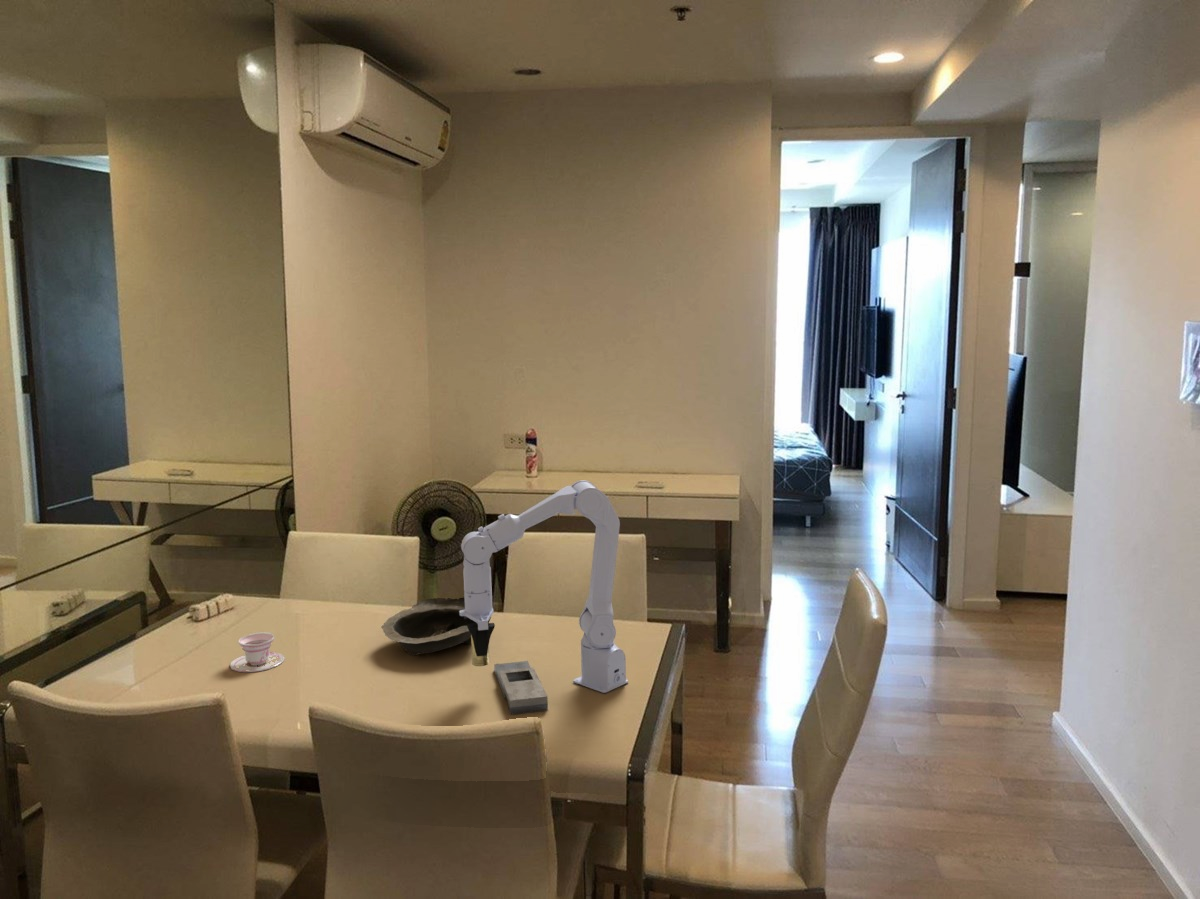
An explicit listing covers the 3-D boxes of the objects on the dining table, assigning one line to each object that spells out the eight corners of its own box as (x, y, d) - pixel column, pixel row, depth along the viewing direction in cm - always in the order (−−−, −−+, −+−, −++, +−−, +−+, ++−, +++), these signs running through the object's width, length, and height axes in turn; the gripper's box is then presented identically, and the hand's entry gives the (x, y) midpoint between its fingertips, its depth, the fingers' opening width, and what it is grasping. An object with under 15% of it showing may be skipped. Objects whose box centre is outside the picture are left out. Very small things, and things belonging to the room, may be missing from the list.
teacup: (267, 674, 209) (265, 648, 208) (219, 672, 211) (217, 646, 210) (294, 655, 221) (292, 630, 220) (248, 652, 223) (246, 628, 222)
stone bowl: (495, 628, 237) (494, 594, 234) (472, 673, 212) (471, 635, 210) (401, 625, 239) (399, 591, 237) (368, 669, 215) (365, 632, 213)
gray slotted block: (494, 670, 209) (494, 658, 209) (527, 667, 211) (527, 654, 210) (510, 714, 186) (510, 700, 186) (547, 710, 188) (547, 696, 187)
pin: (492, 662, 196) (491, 626, 194) (479, 667, 193) (478, 630, 192) (481, 658, 198) (480, 622, 197) (468, 663, 195) (467, 627, 194)
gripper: (455, 581, 199) (457, 642, 201) (462, 601, 185) (465, 666, 187) (488, 578, 201) (490, 638, 203) (497, 598, 187) (499, 662, 189)
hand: (480, 651), depth 195 cm, fingers closed on pin, 4 cm apart
